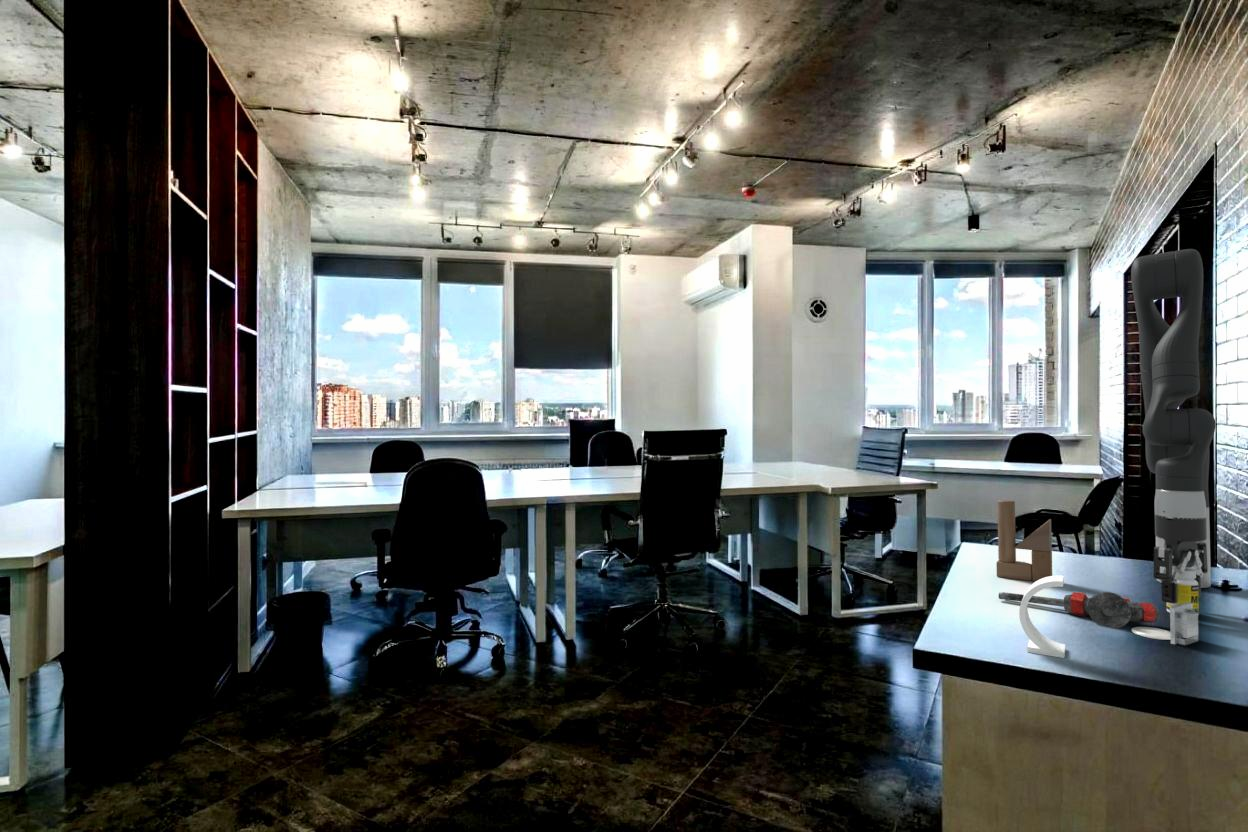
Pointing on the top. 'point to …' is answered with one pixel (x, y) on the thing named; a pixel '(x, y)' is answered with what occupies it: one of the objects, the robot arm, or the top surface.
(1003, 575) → the wooden block
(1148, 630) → the pad
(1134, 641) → the top surface
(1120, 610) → the valve
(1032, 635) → the headphone stand
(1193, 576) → the supplement bottle
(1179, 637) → the flange stub
